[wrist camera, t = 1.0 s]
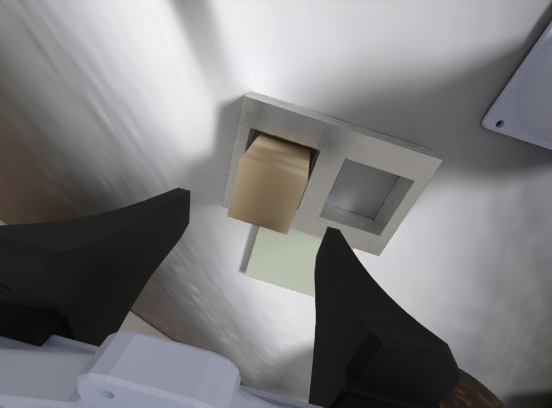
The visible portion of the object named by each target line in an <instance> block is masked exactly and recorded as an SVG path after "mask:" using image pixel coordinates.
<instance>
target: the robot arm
mask: <svg viewBox="0 0 552 408" xmlns="http://www.w3.org/2000/svg"><path fill="white" fill-rule="evenodd" d="M500 120H501V124H500V125H499V126H497V127H496V123H497V122H498V121H500ZM482 125H483V127H485V128H487V129H490V130H493V131H496V132H499V133H502V134H505V135H508V136H511V137H514V138H517V139H520V140H523V141H526V142H529V143H532V144H535V145H538V146H541V147H544V148H547V149H550V150H552V21H551V22H550V24H549V25H548V27H547V28H546V30H545V31H544V32H543V34H542V35H541V37H540V38H539V40H538V41H537V42H536V44H535V45H534V47H533V48H532V50H531V51H530V53H529V54H528V55H527V57H526V58H525V60H524V61H523V63H522V64H521V65H520V67H519V68H518V70H517V71H516V73H515V74H514V75H513V77H512V78H511V80H510V81H509V83H508V84H507V85H506V87H505V88H504V90H503V91H502V93H501V94H500V96H499V97H498V98H497V100H496V101H495V103H494V104H493V106H492V107H491V108H490V110H489V111H488V113H487V114H486V116H485V117H484V118H483V120H482ZM189 213H190V191H189V190H185V189H181V188H177V189H174V190H171V191H168V192H166V193H163V194H161V195H158V196H155V197H153V198H150V199H147V200H145V201H142V202H139V203H136V204H133V205H130V206H127V207H124V208H121V209H117V210H113V211H109V212H105V213H101V214H97V215H92V216H86V217H81V218H76V219H70V220H62V221H55V222H46V223H35V224H20V225H3V226H0V408H440V405H439V401H440V400H441V399H442V398H444V397H445V396H446V395H447V394H449V393H450V392H451V391H452V390H454V388H455V387H456V386H457V385H458V384H459V382H460V378H461V374H460V370H459V368H458V366H457V364H456V361H455V359H454V357H453V355H452V353H451V350H450V348H449V346H448V344H447V343H445V342H444V341H443V340H441V339H440V338H439V337H437V336H436V335H435V334H433V333H432V332H431V331H429V330H428V329H426V328H425V327H424V326H422V325H421V324H420V323H419V322H418V321H416V320H415V319H414V318H413V317H412V316H410V315H409V314H408V313H407V312H406V311H405V310H403V309H402V308H401V307H400V306H399V305H398V304H397V303H396V302H395V301H394V300H393V299H392V298H391V297H390V296H389V295H388V294H387V293H386V292H385V291H384V290H383V289H382V288H381V287H380V286H379V285H378V284H377V282H376V281H375V280H374V279H373V278H372V277H371V275H370V274H369V273H368V272H367V270H366V269H365V268H364V266H363V265H362V264H361V262H360V261H359V260H358V258H357V257H356V255H355V254H354V252H353V251H352V249H351V247H350V246H349V244H348V243H347V241H346V239H345V238H344V236H343V234H342V233H341V231H340V230H339V229H336V228H332V227H327V229H326V232H325V234H324V237H323V239H322V242H321V244H320V247H319V249H318V252H317V255H316V260H315V270H314V281H315V307H316V325H315V341H314V353H313V365H312V375H311V386H310V395H309V403H305V402H301V401H297V400H294V399H290V398H286V397H283V396H279V395H275V394H271V393H268V392H264V391H260V390H257V389H253V388H249V387H245V386H242V385H240V380H241V379H240V375H239V370H238V369H237V367H236V366H235V365H234V364H233V363H232V362H231V361H229V360H228V359H227V358H226V357H223V356H221V355H219V354H216V353H214V352H211V351H207V350H204V349H200V348H196V347H193V346H189V345H185V344H181V343H178V342H174V341H170V340H166V339H162V338H159V337H155V336H152V335H147V334H144V333H140V332H134V331H125V330H123V331H119V332H118V330H119V328H120V327H121V325H122V323H123V321H124V319H125V317H126V316H127V314H128V312H129V311H130V309H131V307H132V306H133V304H134V302H135V301H136V299H137V297H138V296H139V294H140V292H141V291H142V289H143V288H144V286H145V284H146V283H147V281H148V280H149V278H150V277H151V275H152V274H153V273H154V271H155V270H156V269H157V267H158V266H159V265H160V264H161V262H162V261H163V260H164V259H165V257H166V256H167V255H168V253H169V252H170V251H171V250H172V248H173V247H174V246H175V245H176V243H177V242H178V241H179V239H180V238H181V236H182V235H183V233H184V231H185V230H186V228H187V226H188V224H189Z"/></svg>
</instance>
